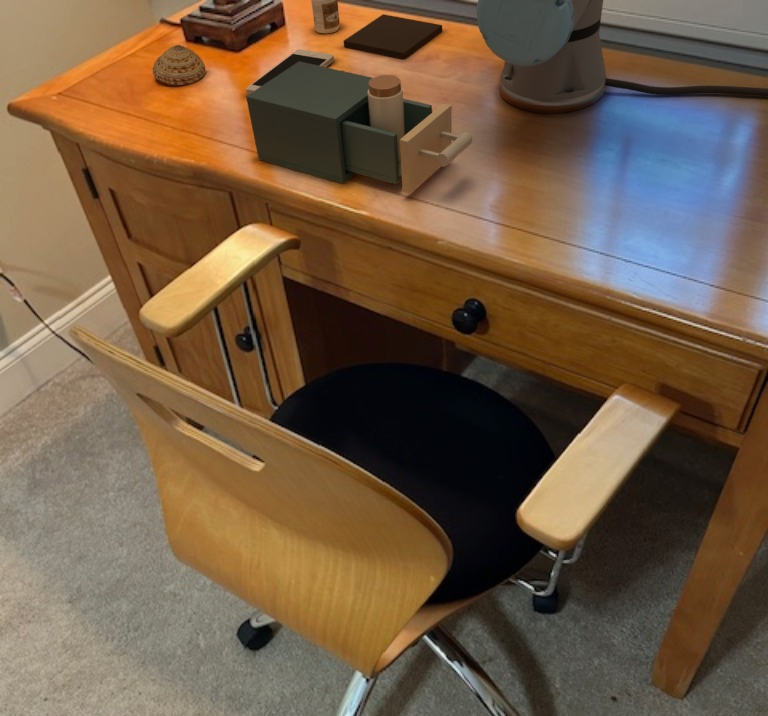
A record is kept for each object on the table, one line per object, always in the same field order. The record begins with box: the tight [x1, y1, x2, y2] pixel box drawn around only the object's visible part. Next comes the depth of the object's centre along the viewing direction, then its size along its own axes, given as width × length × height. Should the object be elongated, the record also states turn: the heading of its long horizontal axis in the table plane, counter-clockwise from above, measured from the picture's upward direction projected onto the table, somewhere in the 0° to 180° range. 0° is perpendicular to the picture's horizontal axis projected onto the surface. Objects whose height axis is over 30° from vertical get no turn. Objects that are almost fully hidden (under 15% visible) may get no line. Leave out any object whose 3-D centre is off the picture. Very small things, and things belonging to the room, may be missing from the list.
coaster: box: [343, 13, 443, 60], centre depth 132 cm, size 12×12×1 cm
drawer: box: [340, 98, 473, 195], centre depth 102 cm, size 18×10×7 cm, turn 56°
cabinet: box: [245, 61, 373, 185], centre depth 107 cm, size 15×12×9 cm
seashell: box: [152, 44, 206, 86], centre depth 129 cm, size 8×6×8 cm
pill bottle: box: [310, 0, 341, 34], centre depth 134 cm, size 4×4×8 cm
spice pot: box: [368, 74, 405, 162], centre depth 101 cm, size 4×4×9 cm
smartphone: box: [245, 48, 335, 95], centre depth 126 cm, size 7×16×1 cm, turn 151°
